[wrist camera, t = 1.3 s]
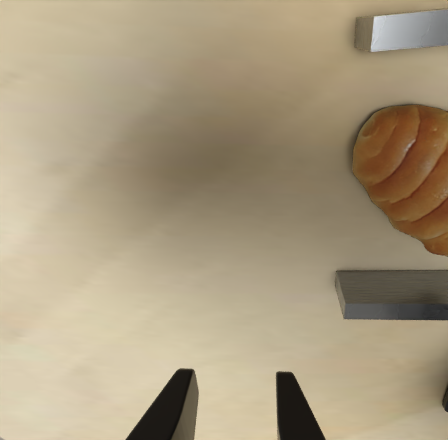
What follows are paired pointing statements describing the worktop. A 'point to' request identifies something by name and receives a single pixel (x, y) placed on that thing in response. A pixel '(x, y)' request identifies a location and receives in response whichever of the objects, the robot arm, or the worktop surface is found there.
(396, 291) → the rail pocket
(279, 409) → the robot arm
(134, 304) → the worktop surface
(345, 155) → the worktop surface
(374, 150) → the pastry
